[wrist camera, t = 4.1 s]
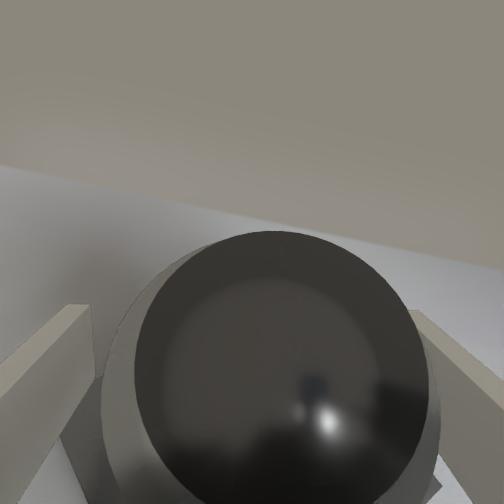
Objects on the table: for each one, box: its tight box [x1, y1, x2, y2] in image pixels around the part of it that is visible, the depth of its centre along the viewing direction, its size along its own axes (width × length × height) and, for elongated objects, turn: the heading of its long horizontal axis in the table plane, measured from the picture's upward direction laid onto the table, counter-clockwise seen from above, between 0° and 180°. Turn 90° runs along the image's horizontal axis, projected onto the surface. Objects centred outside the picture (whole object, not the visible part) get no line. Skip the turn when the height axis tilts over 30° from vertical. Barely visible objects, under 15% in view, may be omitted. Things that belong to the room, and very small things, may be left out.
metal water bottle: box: [101, 231, 441, 504], centre depth 11 cm, size 4×4×15 cm
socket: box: [59, 375, 442, 504], centre depth 16 cm, size 11×11×2 cm
